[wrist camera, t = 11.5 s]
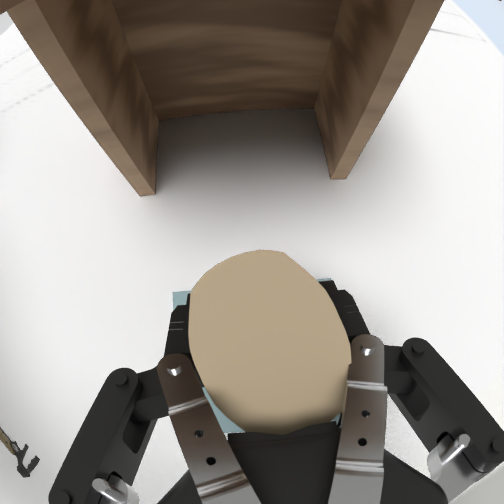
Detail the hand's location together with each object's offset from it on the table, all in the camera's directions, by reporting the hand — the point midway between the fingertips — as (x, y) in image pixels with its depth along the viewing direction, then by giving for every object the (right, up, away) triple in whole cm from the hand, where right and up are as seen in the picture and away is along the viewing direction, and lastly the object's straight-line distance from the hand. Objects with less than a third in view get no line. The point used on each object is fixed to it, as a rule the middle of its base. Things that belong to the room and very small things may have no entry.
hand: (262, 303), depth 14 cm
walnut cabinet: (-2, +12, +14) cm, 18 cm away
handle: (0, -4, +10) cm, 11 cm away
